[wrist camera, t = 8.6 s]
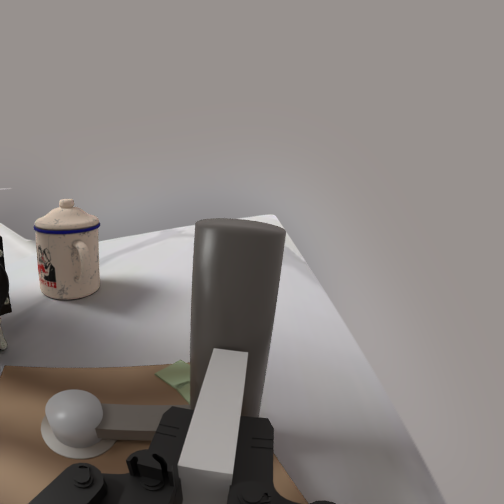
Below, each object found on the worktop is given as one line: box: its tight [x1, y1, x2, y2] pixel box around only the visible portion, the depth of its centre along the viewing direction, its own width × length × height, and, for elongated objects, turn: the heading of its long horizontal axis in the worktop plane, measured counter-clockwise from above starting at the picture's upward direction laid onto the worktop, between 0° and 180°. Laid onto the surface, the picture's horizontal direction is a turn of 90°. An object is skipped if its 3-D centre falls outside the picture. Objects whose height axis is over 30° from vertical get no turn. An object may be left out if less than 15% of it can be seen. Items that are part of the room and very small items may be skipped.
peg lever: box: [45, 218, 286, 448], centre depth 14 cm, size 13×4×12 cm, turn 105°
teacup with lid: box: [34, 199, 100, 300], centre depth 34 cm, size 12×9×12 cm
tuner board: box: [0, 360, 309, 504], centre depth 13 cm, size 18×18×1 cm
